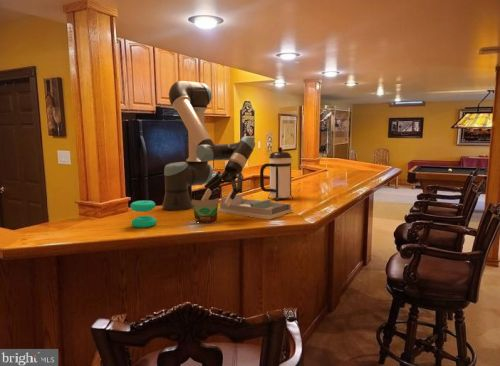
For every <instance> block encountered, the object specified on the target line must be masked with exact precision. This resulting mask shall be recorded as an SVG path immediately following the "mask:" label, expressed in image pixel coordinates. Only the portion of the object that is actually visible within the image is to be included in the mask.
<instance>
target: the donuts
mask: <svg viewBox="0 0 500 366" xmlns="http://www.w3.org/2000/svg"><path fill="white" fill-rule="evenodd" d="M129 206H130V209H131V211H134V212H139V213H143V212H149V211H152V210H154V209H155V207H156V203H155V201H153V200H146V199H145V200H136V201H133V202H131V203H130V205H129ZM130 223H131V224H130V225H131V226H132V227H133V228H139V229H143V228H144V229H145V228H150V227H153V226H155V225H156V224H157V218H155V217H153V216H152V215H140V216H137V217H134V218H133V219H132V220H131V221H130Z"/></svg>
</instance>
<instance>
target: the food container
mask: <svg viewBox="0 0 500 366" xmlns="http://www.w3.org/2000/svg"><path fill="white" fill-rule="evenodd" d="M191 204H192V208H193V216H194V222H195V221H196V222H195V223H197V222H199V223H198V224H212V222H213V223H215V221H216V220H217V221H218V209H219V207H218V206H219V204H220V199H219V198H215V199H208V200H207V199H205V200H198V199H193V198H192V199H191ZM217 221H216V222H217Z"/></svg>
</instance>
